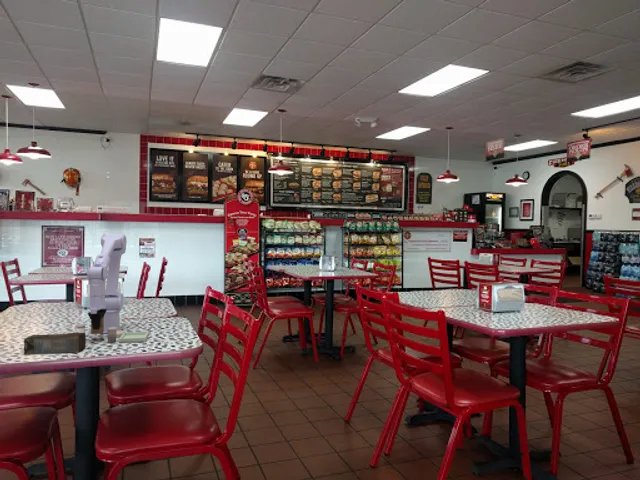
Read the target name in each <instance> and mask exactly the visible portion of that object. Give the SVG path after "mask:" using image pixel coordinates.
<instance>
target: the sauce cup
mask: <svg viewBox="0 0 640 480" xmlns="http://www.w3.org/2000/svg"><path fill="white" fill-rule="evenodd" d="M123 333H124V330H123V329H121V330H116V339H119V338H120V337H121V336H122V334H123Z"/></svg>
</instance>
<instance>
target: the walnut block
mask: <svg viewBox="0 0 640 480" xmlns="http://www.w3.org/2000/svg"><path fill="white" fill-rule="evenodd" d="M103 332H104V317H102V318H101V322H100V328H99V330H93V327H92V322H91V321H90V334H91V335H97V334H98V335H100V334H104V333H103Z"/></svg>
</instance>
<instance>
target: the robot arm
mask: <svg viewBox="0 0 640 480" xmlns="http://www.w3.org/2000/svg"><path fill="white" fill-rule="evenodd" d="M100 244H101V245H100V246H101V251H100V254H98V255H97V256H96V258H95V259H94V261H93V264H92V266H90V267H88V268H87V271H86V272H87V273H86V275H87V280H88V281H87V282H88V285H89V305H87V306H86V309H89V310H90V312H87V315H88V318H89V320H90V323H91V322H92V327H93V330H99V328H100V322H101V318H102V317H104V332H103V333H102V334H108V327H117V330H123V327H120V323H121V321H120V319H121V317H120V312H121V311H122V310H123V308H124V295H123V293H122V292H121V291H119V290H118V288H119V279H120V278H119V277H120V268H121V262H122V261H121V259H122V255H124V254H126V250H127V235H125V234H124V233H121V234H117V233H116V234H114V233H113V234H110V233H108V234H107V233H102V235H101V237H100Z"/></svg>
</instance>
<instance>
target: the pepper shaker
mask: <svg viewBox="0 0 640 480" xmlns="http://www.w3.org/2000/svg"><path fill="white" fill-rule="evenodd" d="M116 330H117V327H108V333H107V344H115V343H117V338H116Z"/></svg>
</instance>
